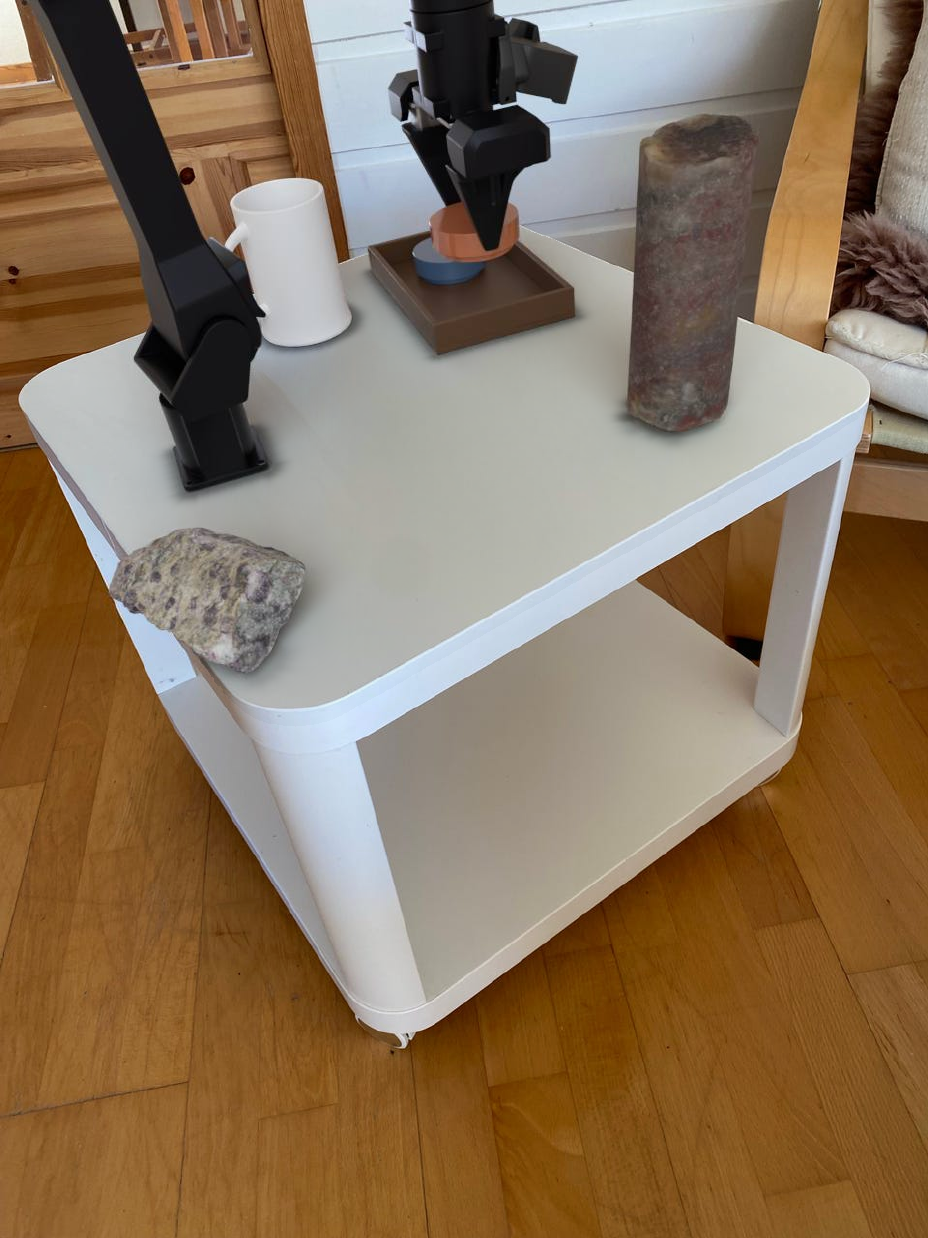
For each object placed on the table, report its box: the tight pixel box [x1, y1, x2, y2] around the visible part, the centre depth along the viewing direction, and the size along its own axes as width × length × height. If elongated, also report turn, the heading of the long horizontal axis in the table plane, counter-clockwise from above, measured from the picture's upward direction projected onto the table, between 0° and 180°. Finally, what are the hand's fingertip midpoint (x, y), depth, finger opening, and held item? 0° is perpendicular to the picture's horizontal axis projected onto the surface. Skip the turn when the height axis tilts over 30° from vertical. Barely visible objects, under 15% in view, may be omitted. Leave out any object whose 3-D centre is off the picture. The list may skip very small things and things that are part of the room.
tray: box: [366, 229, 576, 356], centre depth 89 cm, size 20×13×3 cm, turn 21°
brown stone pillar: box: [626, 113, 760, 433], centre depth 64 cm, size 8×7×20 cm
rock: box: [108, 527, 307, 674], centre depth 58 cm, size 13×6×10 cm
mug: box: [224, 177, 353, 348], centre depth 84 cm, size 12×8×12 cm
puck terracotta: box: [428, 202, 521, 262], centre depth 74 cm, size 7×7×2 cm
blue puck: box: [413, 238, 486, 285], centre depth 92 cm, size 7×7×2 cm
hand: (474, 233), depth 75 cm, fingers closed on puck terracotta, 7 cm apart
